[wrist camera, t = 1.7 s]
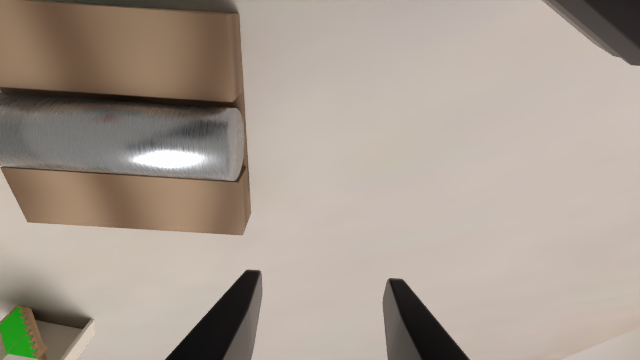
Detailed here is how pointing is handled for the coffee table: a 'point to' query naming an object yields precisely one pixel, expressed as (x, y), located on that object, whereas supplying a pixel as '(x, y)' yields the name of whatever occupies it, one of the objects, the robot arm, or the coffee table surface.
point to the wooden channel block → (125, 85)
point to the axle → (120, 137)
